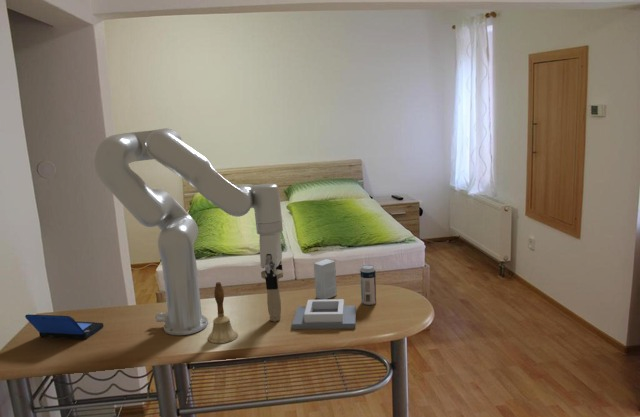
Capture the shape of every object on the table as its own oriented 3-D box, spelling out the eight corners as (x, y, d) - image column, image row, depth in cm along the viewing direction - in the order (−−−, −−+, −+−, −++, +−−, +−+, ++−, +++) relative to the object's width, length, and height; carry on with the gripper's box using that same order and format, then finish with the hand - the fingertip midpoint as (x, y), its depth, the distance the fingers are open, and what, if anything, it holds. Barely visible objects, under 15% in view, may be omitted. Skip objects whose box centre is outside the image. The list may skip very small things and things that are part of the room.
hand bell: (206, 333, 146) (201, 280, 143) (235, 328, 148) (230, 276, 145) (209, 346, 138) (204, 290, 135) (240, 340, 141) (235, 285, 137)
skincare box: (328, 292, 173) (326, 258, 170) (337, 295, 169) (335, 261, 167) (315, 297, 169) (313, 263, 166) (323, 300, 166) (322, 265, 163)
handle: (285, 322, 150) (282, 274, 147) (263, 323, 150) (259, 275, 147) (286, 316, 155) (283, 269, 152) (265, 316, 155) (262, 269, 152)
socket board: (292, 329, 146) (291, 316, 145) (297, 310, 159) (297, 298, 158) (355, 328, 144) (354, 315, 143) (356, 310, 157) (355, 297, 156)
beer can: (379, 303, 161) (378, 266, 159) (367, 307, 159) (366, 270, 156) (369, 298, 165) (368, 263, 163) (358, 302, 163) (356, 266, 160)
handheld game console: (105, 327, 154) (101, 298, 153) (75, 347, 142) (71, 316, 140) (61, 324, 158) (56, 296, 156) (28, 344, 145) (22, 314, 143)
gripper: (262, 220, 156) (267, 273, 159) (250, 235, 139) (256, 294, 142) (286, 219, 155) (291, 272, 159) (277, 233, 138) (283, 293, 142)
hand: (275, 283), depth 150 cm, fingers open, 9 cm apart
